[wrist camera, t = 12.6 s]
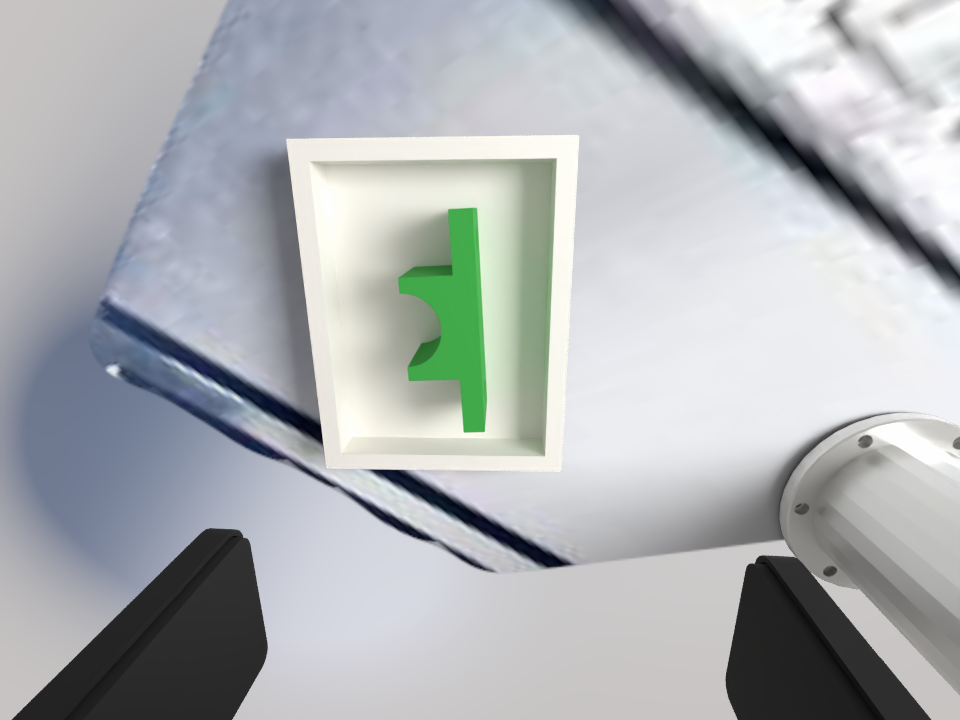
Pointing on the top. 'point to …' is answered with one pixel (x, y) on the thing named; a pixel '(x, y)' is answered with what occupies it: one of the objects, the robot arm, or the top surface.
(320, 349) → the tray
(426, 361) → the pipe clamp
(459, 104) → the top surface
